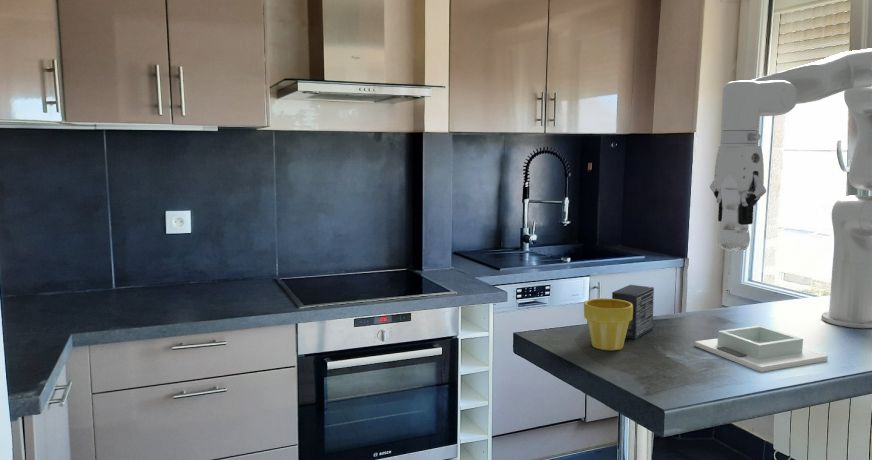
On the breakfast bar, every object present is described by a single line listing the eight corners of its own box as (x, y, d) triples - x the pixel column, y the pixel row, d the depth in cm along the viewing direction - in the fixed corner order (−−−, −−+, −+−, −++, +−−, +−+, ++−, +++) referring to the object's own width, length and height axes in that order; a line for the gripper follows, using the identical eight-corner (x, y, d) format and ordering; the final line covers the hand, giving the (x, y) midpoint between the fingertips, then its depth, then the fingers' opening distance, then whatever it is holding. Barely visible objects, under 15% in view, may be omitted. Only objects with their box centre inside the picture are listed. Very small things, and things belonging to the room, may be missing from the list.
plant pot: (587, 337, 152) (588, 295, 151) (633, 342, 148) (635, 299, 147) (579, 350, 143) (580, 306, 141) (628, 355, 139) (630, 310, 137)
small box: (627, 325, 162) (629, 283, 161) (653, 329, 158) (655, 287, 157) (609, 334, 154) (610, 290, 153) (636, 340, 150) (637, 295, 149)
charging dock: (756, 337, 152) (757, 320, 151) (827, 360, 135) (828, 341, 135) (694, 345, 145) (695, 328, 145) (761, 371, 129) (762, 352, 128)
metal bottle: (751, 250, 147) (756, 159, 144) (747, 254, 141) (751, 160, 138) (720, 247, 150) (724, 159, 147) (714, 252, 144) (719, 160, 142)
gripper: (785, 139, 135) (780, 226, 138) (723, 139, 151) (720, 217, 154) (756, 139, 133) (751, 228, 135) (697, 139, 149) (693, 219, 151)
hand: (735, 221), depth 145 cm, fingers closed on metal bottle, 5 cm apart
